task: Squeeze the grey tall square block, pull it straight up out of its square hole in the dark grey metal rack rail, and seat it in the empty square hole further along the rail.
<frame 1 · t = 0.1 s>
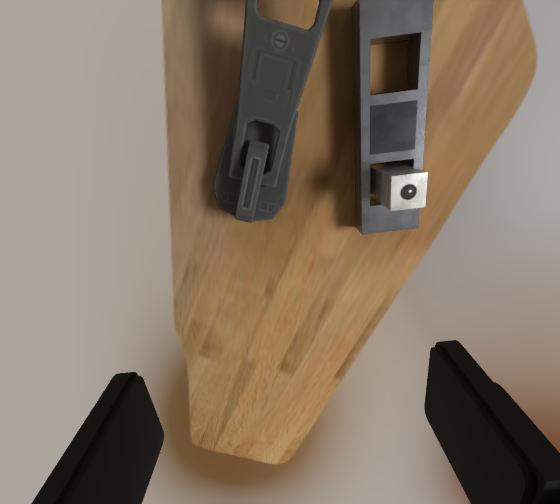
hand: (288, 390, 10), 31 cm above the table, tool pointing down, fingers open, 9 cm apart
grey tall square block: (382, 178, 38), resting in rack rail
rack rail: (383, 127, 36), on the table
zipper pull: (267, 114, 35), on the table
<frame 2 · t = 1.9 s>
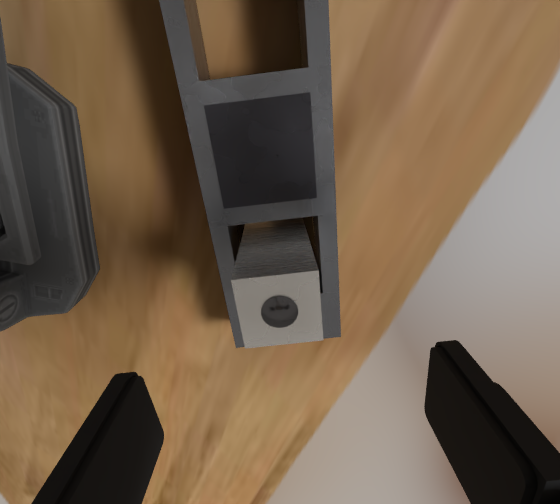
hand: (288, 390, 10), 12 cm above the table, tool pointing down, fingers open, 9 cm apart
grey tall square block: (277, 241, 20), resting in rack rail
rack rail: (265, 148, 18), on the table
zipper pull: (18, 110, 17), on the table
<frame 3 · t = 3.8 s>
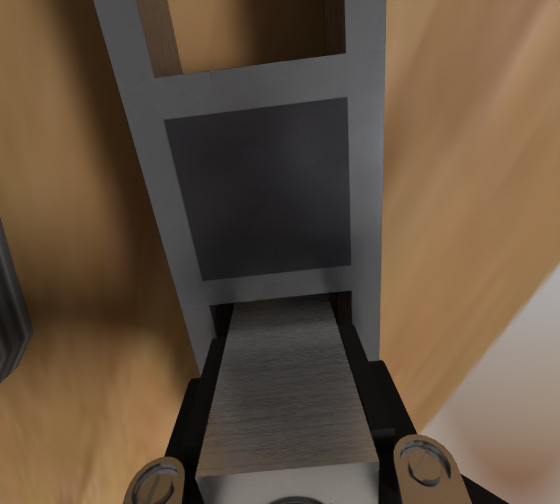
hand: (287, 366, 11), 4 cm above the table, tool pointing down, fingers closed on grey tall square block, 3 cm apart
grey tall square block: (284, 311, 14), resting in rack rail, touching gripper
rack rail: (268, 182, 12), on the table
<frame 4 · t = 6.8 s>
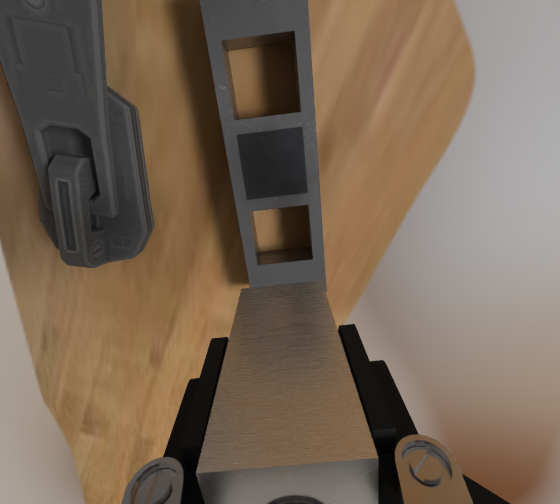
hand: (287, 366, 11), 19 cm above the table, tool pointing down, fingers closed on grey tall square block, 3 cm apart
grey tall square block: (285, 319, 14), point 16 cm above the table, touching gripper
rack rail: (273, 160, 26), on the table
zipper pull: (99, 114, 25), on the table
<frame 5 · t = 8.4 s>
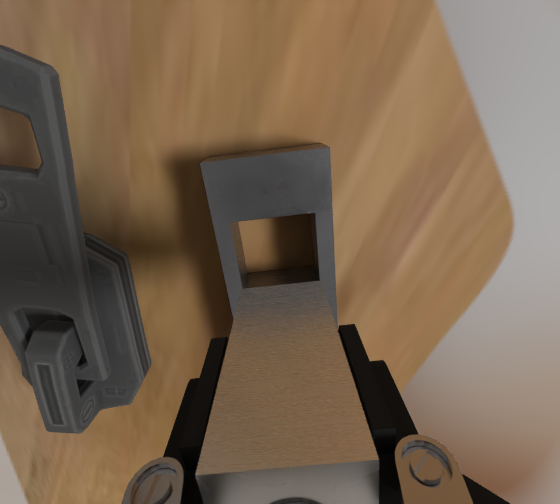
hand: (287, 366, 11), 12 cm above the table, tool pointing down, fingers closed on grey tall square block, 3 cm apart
grey tall square block: (285, 319, 14), point 8 cm above the table, touching gripper
rack rail: (285, 309, 24), on the table
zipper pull: (83, 260, 22), on the table
when the fingers open (5 cm above the table, at t = 9.9 s): grey tall square block drops 1 cm, resting in rack rail.
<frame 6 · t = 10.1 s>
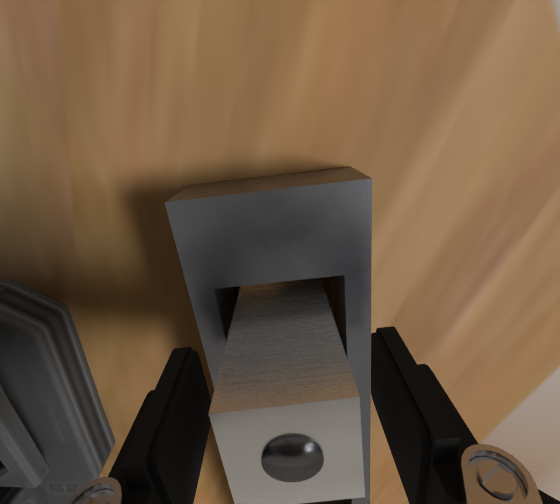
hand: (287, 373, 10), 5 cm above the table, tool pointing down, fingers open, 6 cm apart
grey tall square block: (284, 302, 15), resting in rack rail
rack rail: (294, 385, 17), on the table
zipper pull: (9, 314, 16), on the table
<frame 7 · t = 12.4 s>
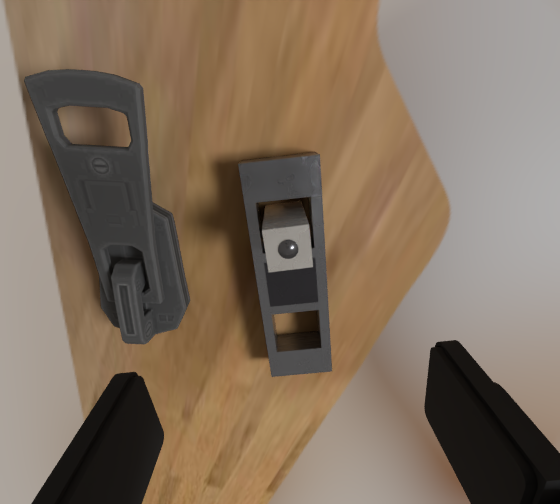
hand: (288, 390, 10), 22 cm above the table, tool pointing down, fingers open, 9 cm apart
grey tall square block: (285, 220, 31), resting in rack rail
rack rail: (290, 269, 33), on the table
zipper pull: (142, 220, 31), on the table
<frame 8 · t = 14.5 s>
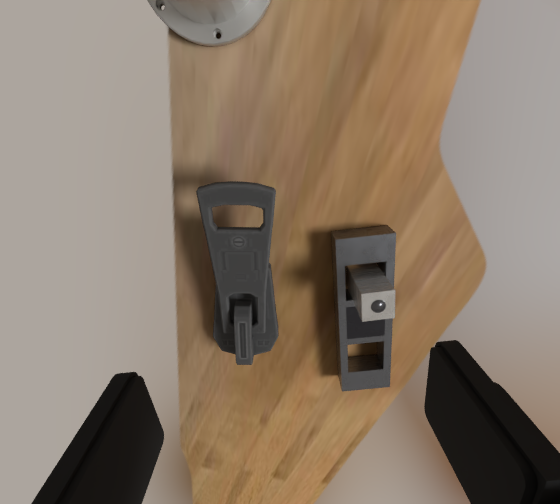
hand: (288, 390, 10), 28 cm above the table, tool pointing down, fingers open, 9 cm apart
grey tall square block: (359, 272, 40), resting in rack rail
rack rail: (359, 308, 42), on the table
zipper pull: (245, 268, 40), on the table
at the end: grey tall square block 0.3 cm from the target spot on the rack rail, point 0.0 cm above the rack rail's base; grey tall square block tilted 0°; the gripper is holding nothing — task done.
